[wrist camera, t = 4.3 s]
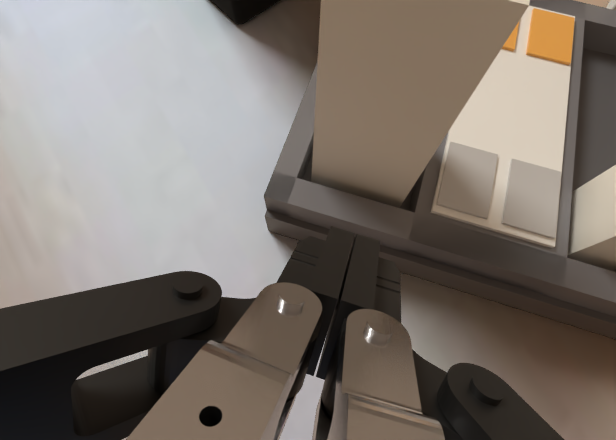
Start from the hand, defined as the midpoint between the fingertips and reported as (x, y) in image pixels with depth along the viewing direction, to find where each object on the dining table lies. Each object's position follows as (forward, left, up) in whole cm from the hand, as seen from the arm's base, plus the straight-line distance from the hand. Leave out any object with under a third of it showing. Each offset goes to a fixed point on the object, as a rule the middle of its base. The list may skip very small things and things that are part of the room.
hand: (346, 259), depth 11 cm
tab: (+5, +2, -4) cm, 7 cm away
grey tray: (+11, -1, -6) cm, 13 cm away
